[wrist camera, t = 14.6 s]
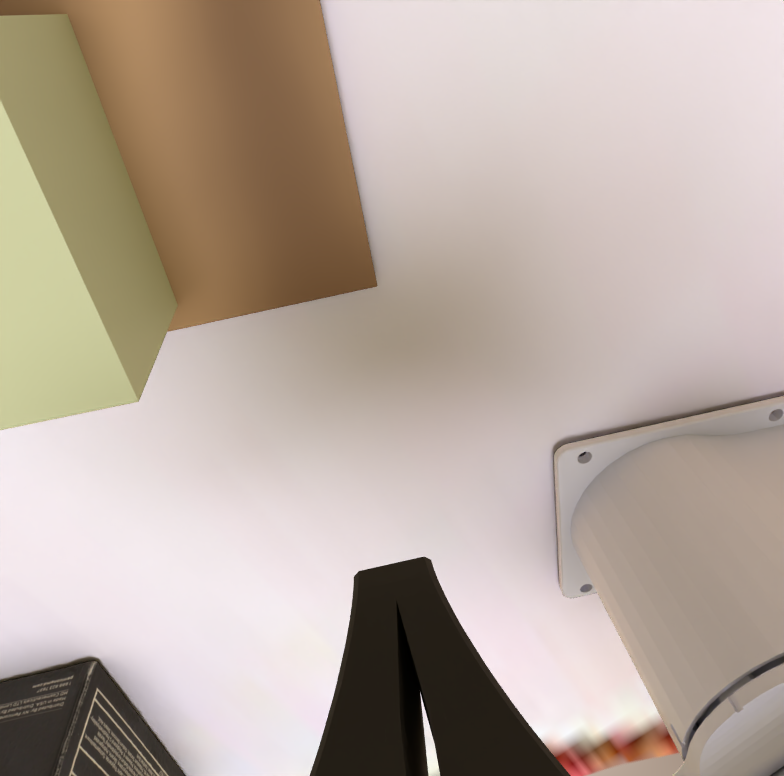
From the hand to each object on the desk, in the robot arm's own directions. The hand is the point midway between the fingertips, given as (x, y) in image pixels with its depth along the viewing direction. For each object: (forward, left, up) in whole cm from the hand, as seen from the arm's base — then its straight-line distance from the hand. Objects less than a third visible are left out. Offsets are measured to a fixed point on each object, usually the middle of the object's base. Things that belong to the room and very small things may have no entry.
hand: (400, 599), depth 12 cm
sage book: (+6, -7, -9) cm, 13 cm away
